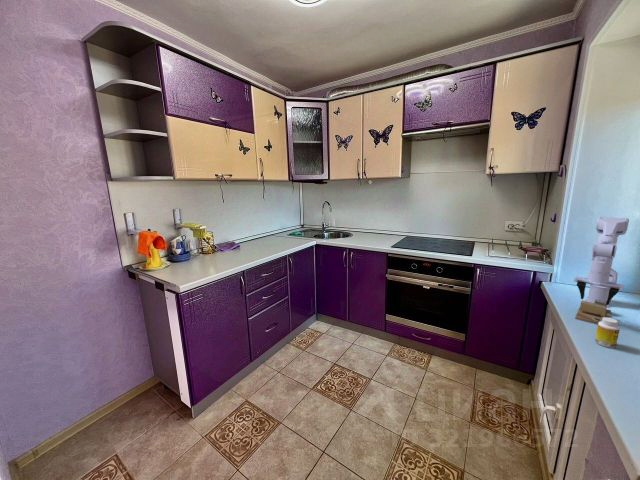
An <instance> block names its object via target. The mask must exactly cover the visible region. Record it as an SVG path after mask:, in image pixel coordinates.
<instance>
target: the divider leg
mask: <svg viewBox="0 0 640 480" xmlns="http://www.w3.org/2000/svg"><path fill="white" fill-rule="evenodd" d="M606 307H607V306H602V305H598V304H594V303H591V302H587V301H586V300H581V302H580V305H579V308H580V310H582V311H586V312H590V313H594V314H597V315H603V316H605V312H606ZM607 308H608V307H607Z"/></svg>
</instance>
